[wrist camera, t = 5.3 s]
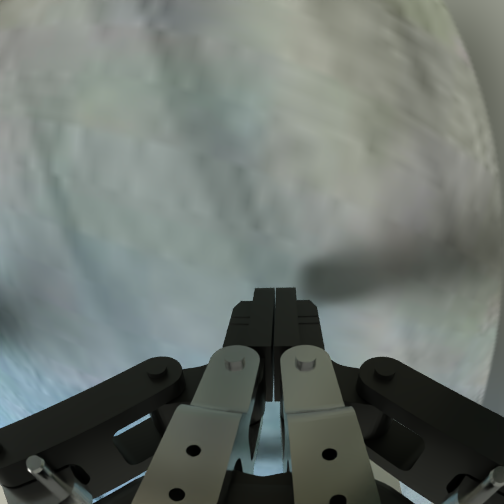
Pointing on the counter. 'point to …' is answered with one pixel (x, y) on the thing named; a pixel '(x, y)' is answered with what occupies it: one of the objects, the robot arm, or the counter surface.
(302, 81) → the counter surface
